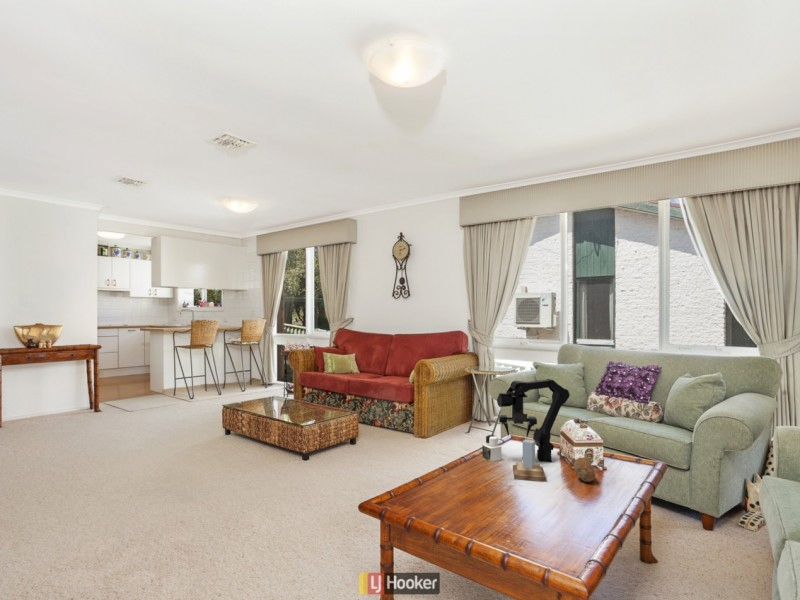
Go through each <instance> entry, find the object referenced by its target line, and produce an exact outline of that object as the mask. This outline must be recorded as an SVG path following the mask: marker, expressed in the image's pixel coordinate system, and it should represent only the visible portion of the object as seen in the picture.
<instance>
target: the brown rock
mask: <svg viewBox="0 0 800 600" xmlns="http://www.w3.org/2000/svg"><path fill="white" fill-rule="evenodd" d="M573 469H574V472H575V474H576V475H577V476H578V477H579V478H580V480H582V481H583V482H588V483H590V482H592V481H594V479H595V477H596V471H595V469H594V467H593V466H592V463H591V462H590V460H589V459H588V458H586V457H585V456H584V457H580V458H577V459H575V461H574V463H573Z"/></svg>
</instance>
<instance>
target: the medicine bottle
mask: <svg viewBox="0 0 800 600" xmlns="http://www.w3.org/2000/svg"><path fill="white" fill-rule="evenodd" d="M498 442H499V437H498V436H497V435H494V434H488V435H486V436H485V443H484V444H482V459H484V460H486V461H488V462H491V461H492V462H497V460H498V461H502V446H501V445H499V444H498ZM492 462H491V463H492Z"/></svg>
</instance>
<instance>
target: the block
mask: <svg viewBox="0 0 800 600" xmlns="http://www.w3.org/2000/svg"><path fill="white" fill-rule="evenodd" d="M522 462H523V467H525V468H530V469H533V468H534V467H535V463H536V443H535V441H534V440H533V439H528V438H525V439H524V440H523V441H522Z"/></svg>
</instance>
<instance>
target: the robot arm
mask: <svg viewBox="0 0 800 600" xmlns="http://www.w3.org/2000/svg"><path fill="white" fill-rule="evenodd" d="M509 386H510V387H508V389H507V390H506V393H505V392H504V393H503V392H499V393H498V396H497V399H496V403H497V406H498V407H500V408H505V407H506V408H507V407H511V417H509V416H507V415H506V414H500V415H499V416H498V423H501V425H503V426H504V428H505V430H506V434H507V437H510V430H509V424H508V422H513V424H516V425H518V424H520V425H523V424H524V423H527V425H526V432H525V433H526V436H525V437H526V438H528V436H529V433H530V431H531V428H532V427H534V426H536V425H538V419H537V417H536V416H532V415H531V416H528V413H524V398H528V395H527V394H526V393H528V392H529V391H531V390H538V389H539V390H540V389H549V391H551V392H552V395H551V401H552V402H551V404H550V407H549V409H548V411H547V413H546V415H545V418H544V419H543V422H542V424H541V426H540V427H539V428H537V427H536V428H535V430H534V432H533V434H532V436H533V437H532V440H533V441H535V446H536V447H537V450H536V458H537V460H538V462H546V463H552V451H553V450H554V447H555V446H554V445H553V443H552V442H550V441H551V438H552V437H551V431H552V428H553V426H554V424H555V422H556V419H557V416H558V414H559V412H560V410H561V408H562V406H563V405H564V404H565V403H567V401H568V399H570V395H571V394H570V391H569V389H568V388H564V387H563V386H562V385H560V384H558V383H557V382H556V381H555V380H554V379H552V378H547V379H540V380H532V381H523V380H513V381H511V383H510V385H509Z"/></svg>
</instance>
